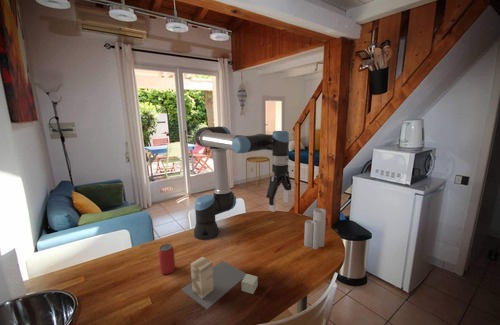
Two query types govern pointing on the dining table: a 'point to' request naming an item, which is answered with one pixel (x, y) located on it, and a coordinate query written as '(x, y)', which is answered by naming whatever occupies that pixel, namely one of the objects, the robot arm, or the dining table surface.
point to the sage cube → (249, 283)
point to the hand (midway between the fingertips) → (279, 206)
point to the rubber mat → (218, 284)
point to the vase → (315, 229)
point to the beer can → (166, 259)
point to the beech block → (202, 277)
